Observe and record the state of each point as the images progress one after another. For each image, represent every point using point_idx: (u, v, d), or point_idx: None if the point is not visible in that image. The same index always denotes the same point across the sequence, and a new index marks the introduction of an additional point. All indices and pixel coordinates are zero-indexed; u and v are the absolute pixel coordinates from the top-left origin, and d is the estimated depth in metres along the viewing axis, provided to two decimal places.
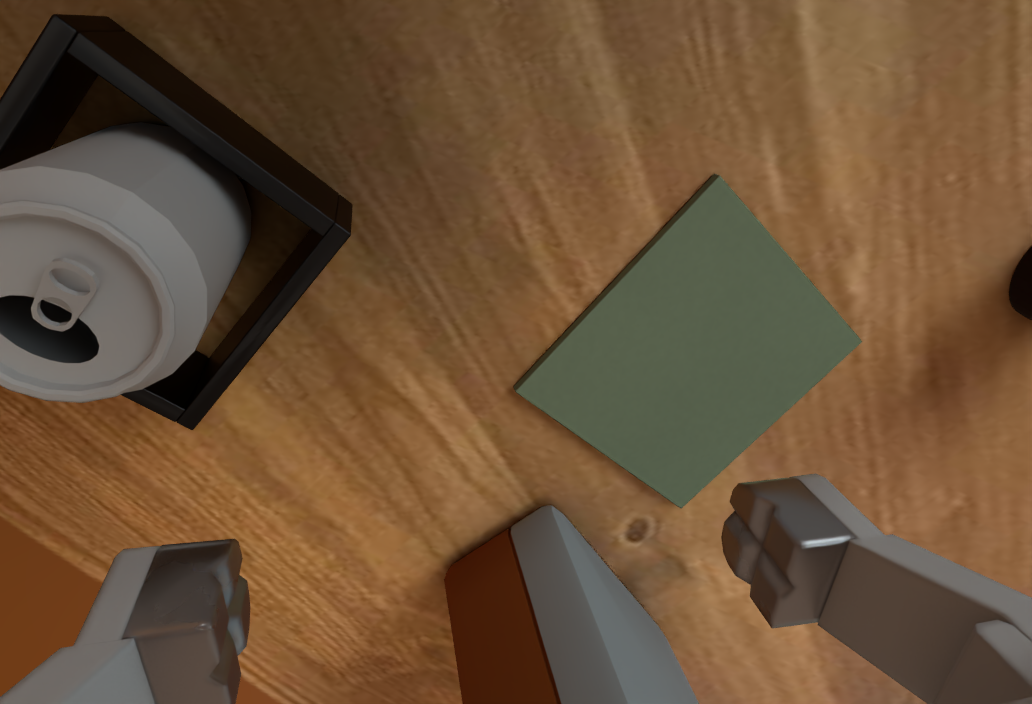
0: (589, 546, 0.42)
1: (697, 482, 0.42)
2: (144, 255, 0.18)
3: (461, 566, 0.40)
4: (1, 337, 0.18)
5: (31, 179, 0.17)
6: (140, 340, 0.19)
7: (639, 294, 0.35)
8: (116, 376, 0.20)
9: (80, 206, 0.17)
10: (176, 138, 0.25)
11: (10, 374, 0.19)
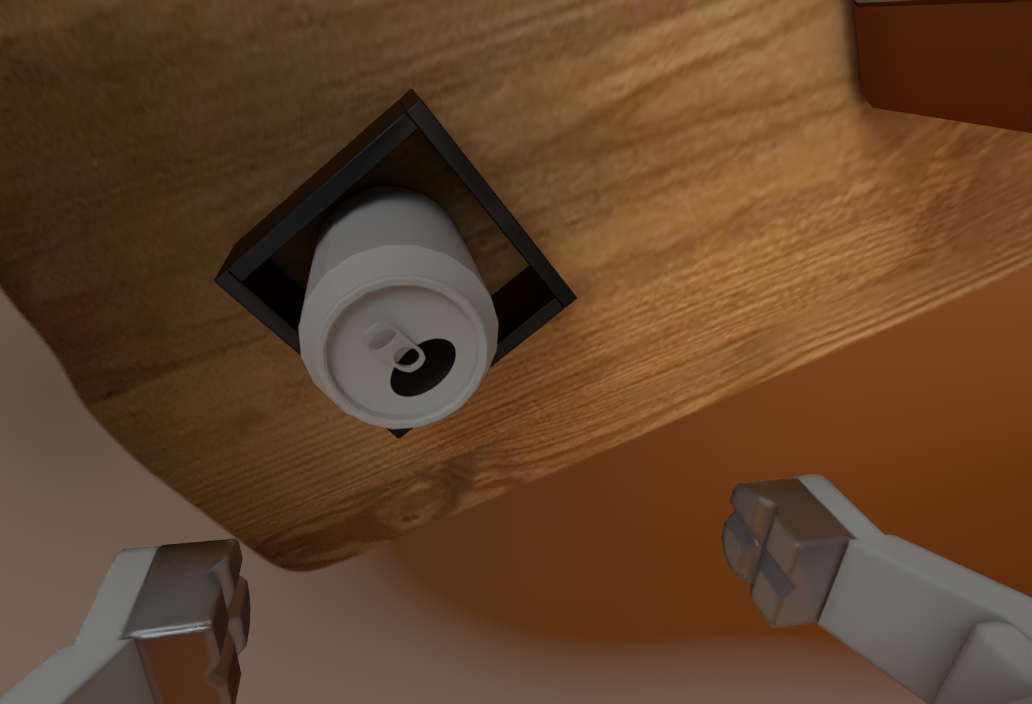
0: None
1: None
2: (369, 282, 0.21)
3: (867, 81, 0.32)
4: (422, 395, 0.24)
5: (306, 336, 0.23)
6: (446, 309, 0.23)
7: None
8: (475, 336, 0.23)
9: (327, 313, 0.22)
10: (324, 227, 0.29)
11: (452, 400, 0.24)
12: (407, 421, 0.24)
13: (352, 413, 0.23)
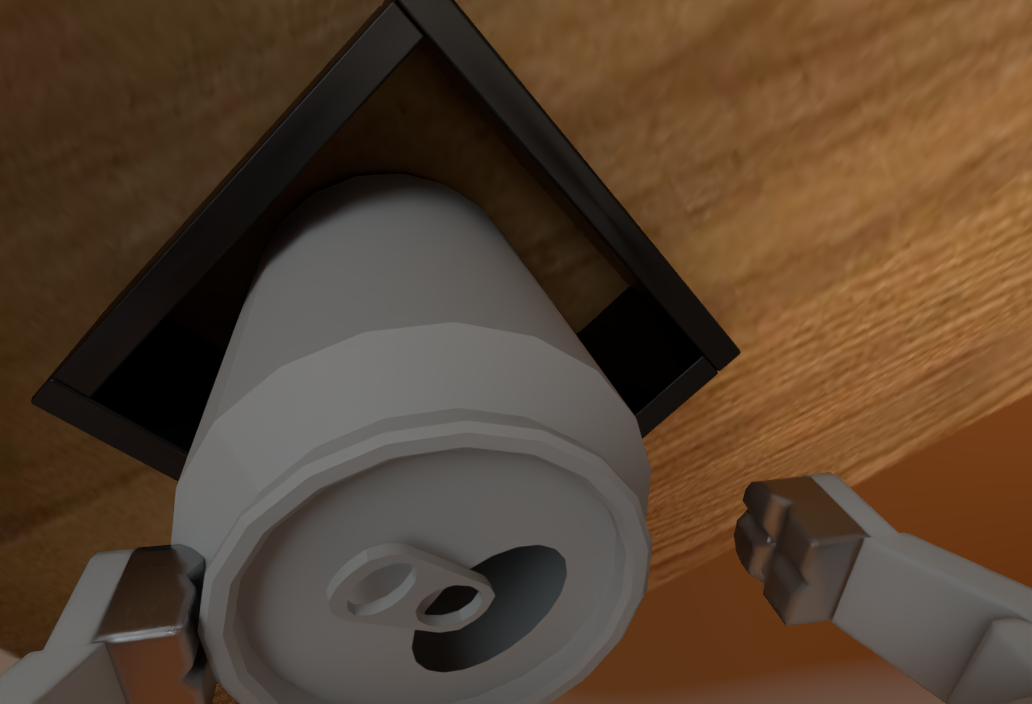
0: None
1: None
2: (327, 458, 0.07)
3: None
4: (491, 663, 0.10)
5: None
6: (543, 481, 0.09)
7: None
8: (612, 527, 0.09)
9: (227, 531, 0.08)
10: (261, 263, 0.15)
11: (560, 666, 0.10)
12: None
13: None
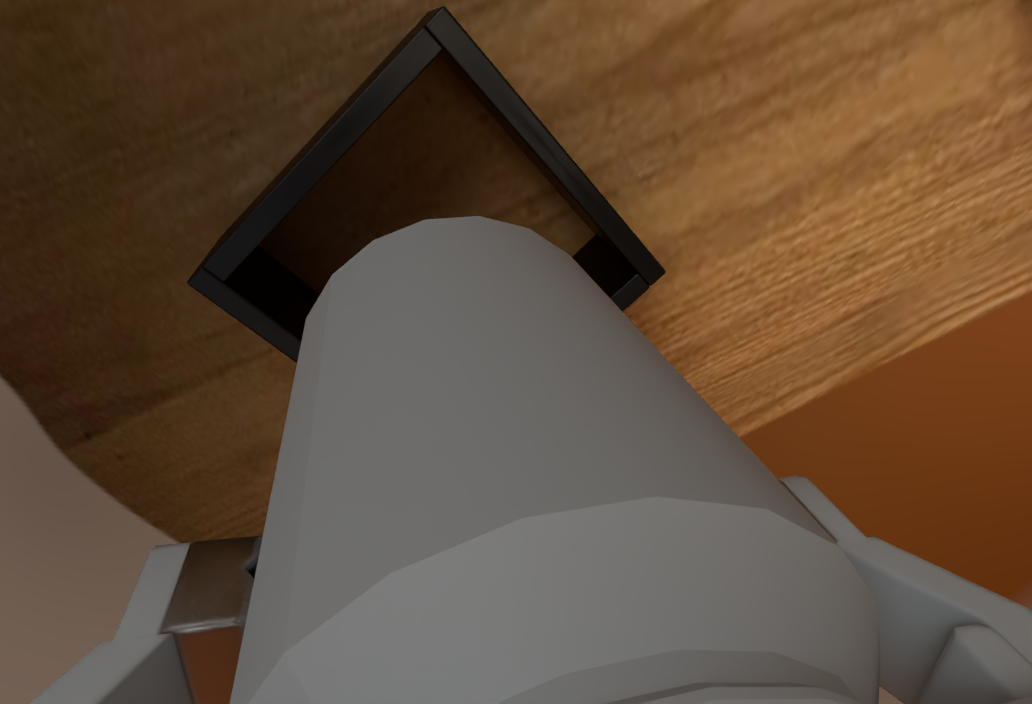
0: None
1: None
2: None
3: None
4: None
5: None
6: None
7: None
8: None
9: None
10: (311, 328, 0.12)
11: None
12: None
13: None
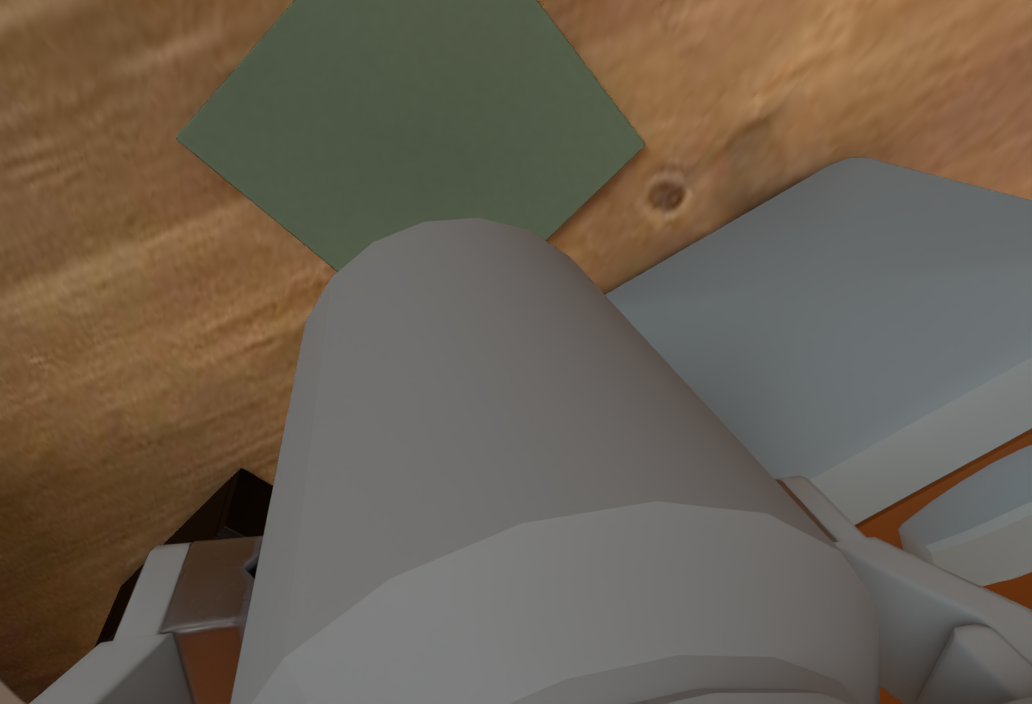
0: (655, 269, 0.36)
1: (610, 124, 0.32)
2: None
3: None
4: None
5: None
6: None
7: (327, 225, 0.31)
8: None
9: None
10: (311, 330, 0.12)
11: None
12: None
13: None
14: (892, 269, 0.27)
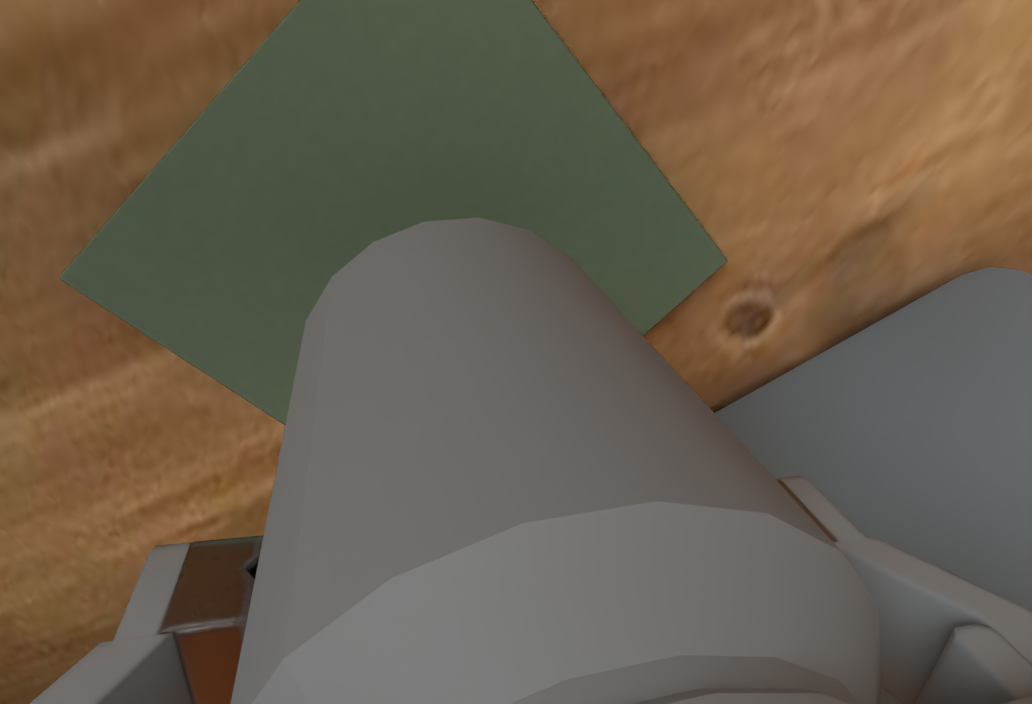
0: (731, 413, 0.27)
1: (681, 237, 0.23)
2: None
3: None
4: None
5: None
6: None
7: (287, 381, 0.22)
8: None
9: None
10: (311, 330, 0.12)
11: None
12: None
13: None
14: None
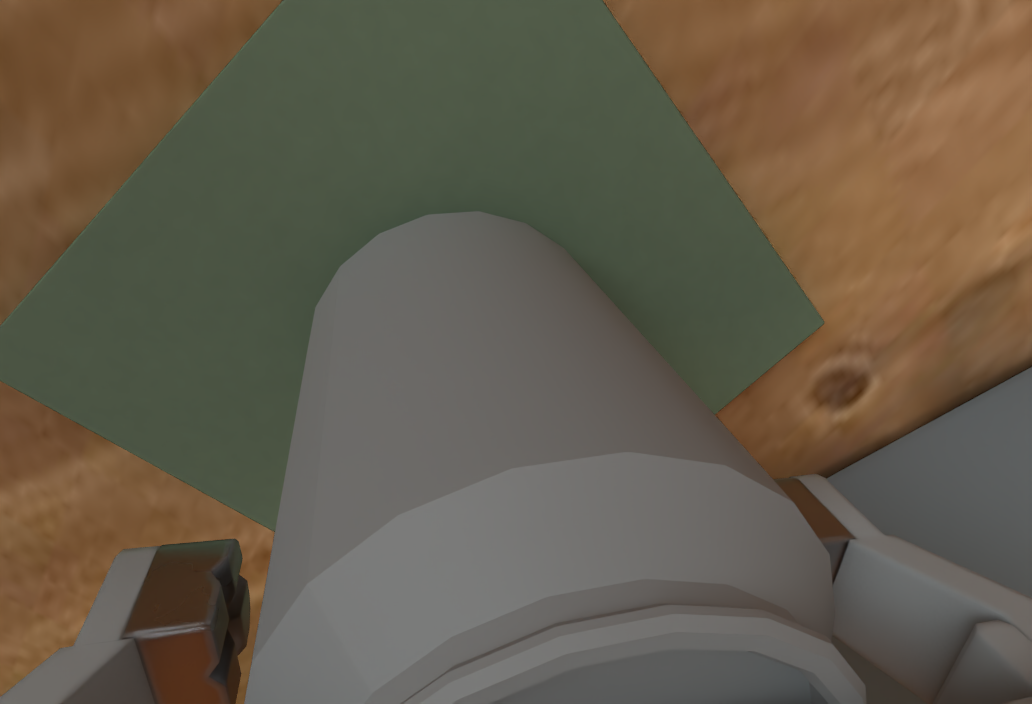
0: None
1: (771, 296, 0.18)
2: (483, 672, 0.05)
3: None
4: None
5: None
6: (739, 661, 0.06)
7: (273, 479, 0.18)
8: None
9: None
10: (321, 315, 0.13)
11: None
12: None
13: None
14: None
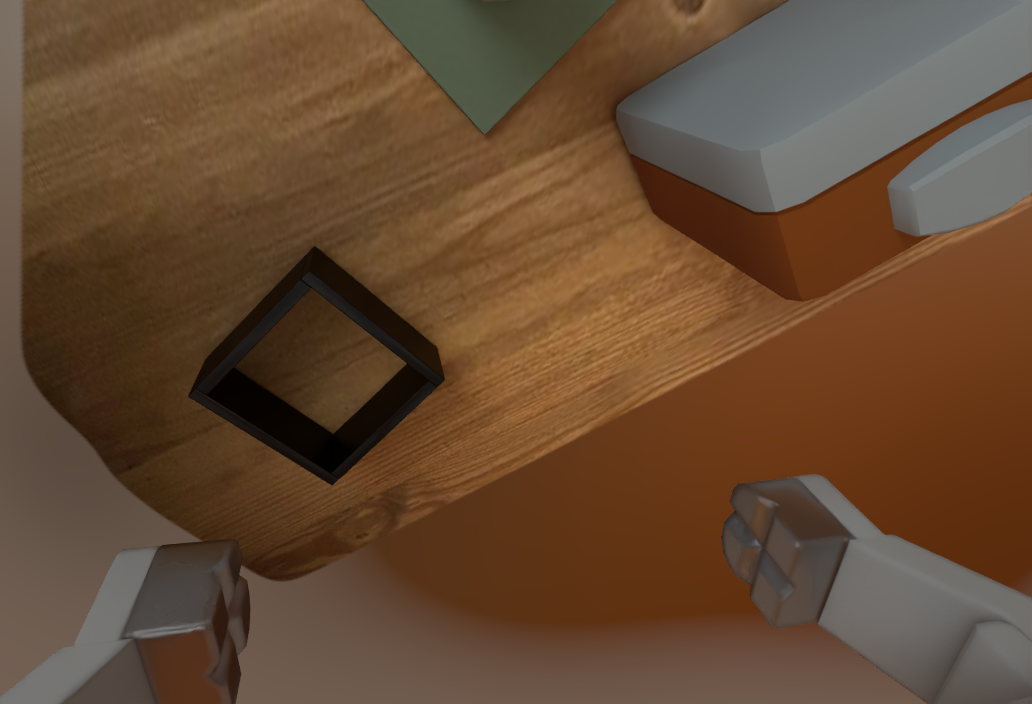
0: (679, 66, 0.41)
1: None
2: None
3: (649, 201, 0.44)
4: None
5: None
6: None
7: (401, 2, 0.36)
8: None
9: None
10: None
11: None
12: None
13: None
14: (883, 9, 0.32)
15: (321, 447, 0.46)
